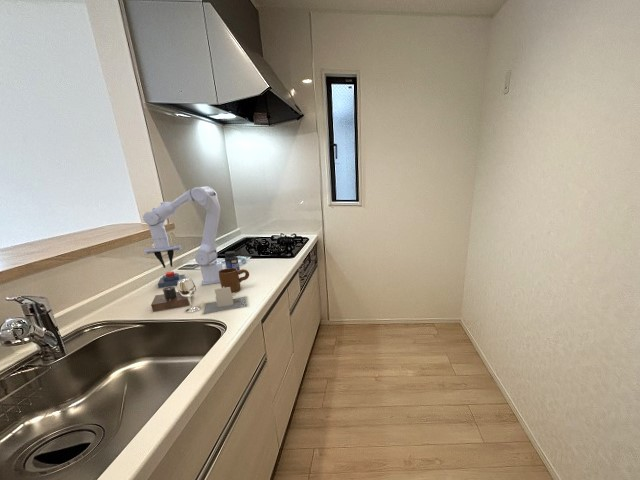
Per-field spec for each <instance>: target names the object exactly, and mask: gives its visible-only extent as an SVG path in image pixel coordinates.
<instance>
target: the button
mask: <svg viewBox="0 0 640 480" xmlns="http://www.w3.org/2000/svg"><path fill="white" fill-rule="evenodd" d="M175 273H176V272H175V271H166V272H165V273H164V275H166V277H170V276H175Z"/></svg>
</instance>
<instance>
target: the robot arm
mask: <svg viewBox="0 0 640 480" xmlns="http://www.w3.org/2000/svg"><path fill="white" fill-rule="evenodd" d="M190 202H197V203H198V204H199V205H200V206H202V207H203V208H204V209H205V211H206V214H205V221H204V226H203V233H202V238H201V244H200V246H199V248H198V251H197V253H196V254H195V256H194V260H195V262H196V263H197V265H199V268H200V272H201V276H202V285H203V286H204V285H205V286H206V285H211V284H212V285H213V284H218V283H220V278H219V271H220V270H223V269H224V267H223V264H222V262H221V261H218V262H217V258H218V252H217V251H218V249H217V246H216V241H217V236H218V235H217V234H218V228H219V222H220V217H221V211H222V208H221V205H220V202H219V199H218V193H217V192H216V190H214V188H212V187H211V186H209V185H204V186H195V187H193V188H191V189H188V190H187V191H185V192H184V193H182V194H181V195H180V196H178V197H177V198H175V199H174V200H173V201H161V202H160V203H159V204H160V205H158V206H156V207H153V208H151V211H146V212H145V213H144V214H143V215H142V219H143V222H144V223H145V224H146V225H147V226H148V229H149V232H150V235H151V239H152V242H153V247H152V248H145V249H143V250H142V251H143V254H144V255H150V254H151V255H152V254H154V256H155V258H157V260H158V261H159V262H160V264H161V265H162V267H163V269H166V268H167V267H166V264H165V261H164V258H163V255H162V253H167V257H168V259H169V266H170V268H173V260H174V259H173V258H174V254H175V251H182V250H183V247H182V245H181V244H179V245H170V242H169V241H170V240H169V238H168V233H167V231H166V227H165V221H166V220H167V219H169V218H170V217H172V216H174V215H176V214H177V213H178V209H179V208H181V207H183V206H184V205H186V204H188V203H190Z"/></svg>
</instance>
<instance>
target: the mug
mask: <svg viewBox="0 0 640 480" xmlns="http://www.w3.org/2000/svg"><path fill="white" fill-rule="evenodd" d="M241 274H244V276H241V277H240V275H241ZM249 277H250V272H249V270H247V269H244V268H243V269H240V271H237V269H235V268H228V269H227V268H223V270H220V271H219V278H220V282H219V283H220V288H223V287H224V288H226V287H230V289H231V293H237V292H239V291H241V289H242V286H241V283H242V282H243V281H246V280H248V279H249Z"/></svg>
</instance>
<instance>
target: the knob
mask: <svg viewBox="0 0 640 480" xmlns="http://www.w3.org/2000/svg"><path fill="white" fill-rule="evenodd" d="M162 292H163V294H164V296H165V298H166V299H171V298H174V297H176V296H177V294H176V292H177V291H176V286H170V287H163V288H162Z"/></svg>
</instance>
